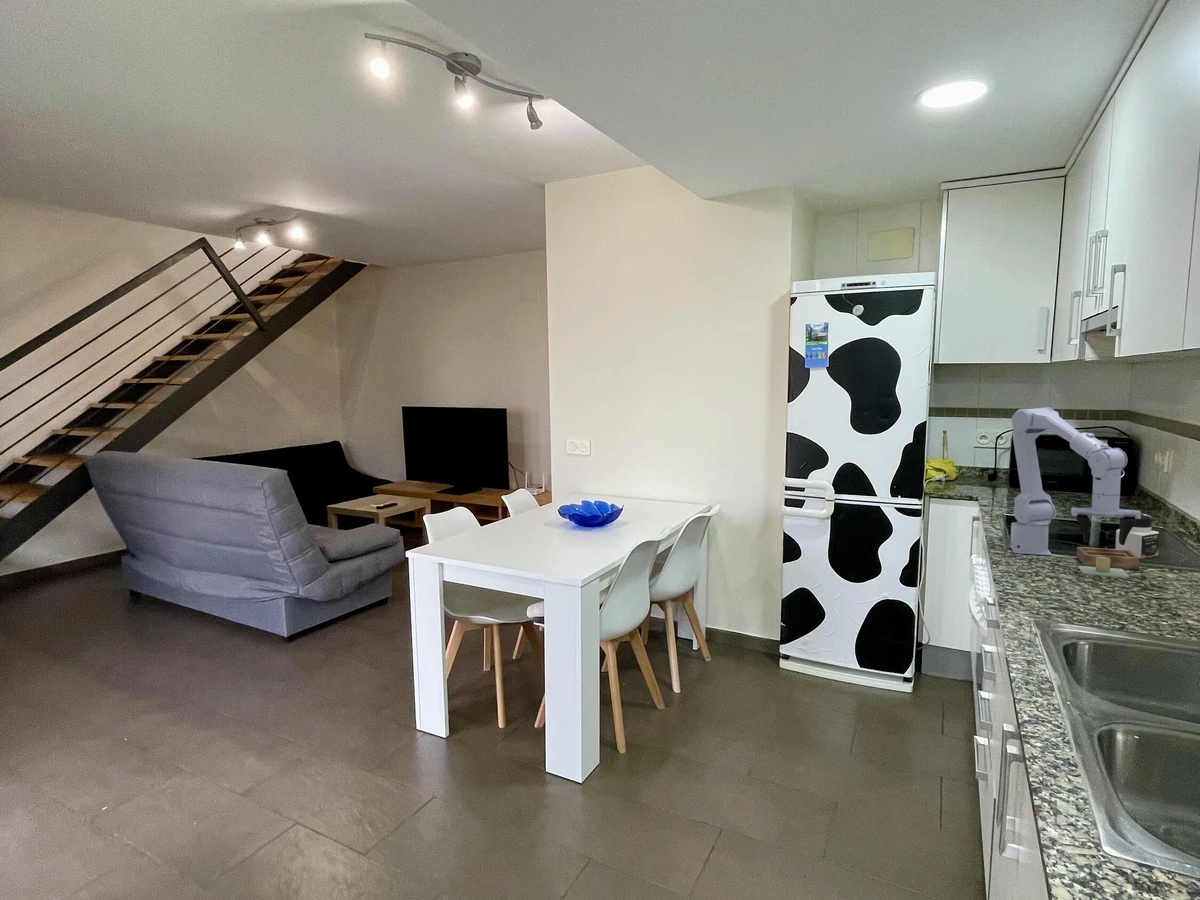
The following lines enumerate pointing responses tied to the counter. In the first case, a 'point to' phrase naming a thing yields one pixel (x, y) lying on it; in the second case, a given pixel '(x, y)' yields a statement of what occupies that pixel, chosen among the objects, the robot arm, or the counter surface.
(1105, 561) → the lid
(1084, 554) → the box
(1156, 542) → the medicine bottle
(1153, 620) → the counter surface
